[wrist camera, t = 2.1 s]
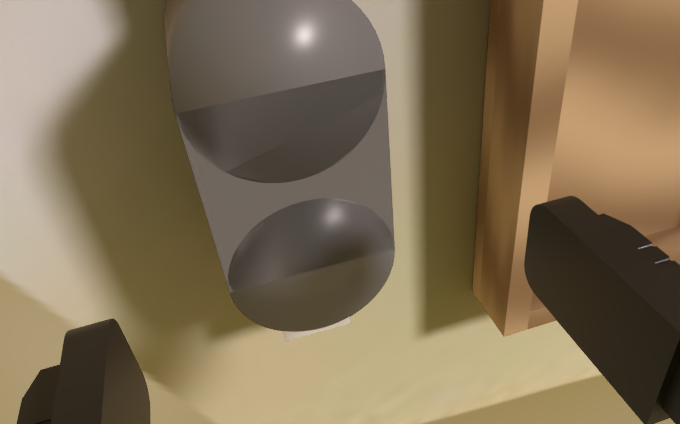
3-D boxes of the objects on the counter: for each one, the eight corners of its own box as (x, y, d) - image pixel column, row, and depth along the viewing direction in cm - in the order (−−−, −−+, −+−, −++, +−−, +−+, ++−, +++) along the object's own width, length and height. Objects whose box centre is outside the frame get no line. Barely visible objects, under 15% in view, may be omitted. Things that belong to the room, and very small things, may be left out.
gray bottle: (104, -172, 12) (88, -168, 8) (307, -198, 12) (370, -203, 9) (240, 293, 20) (260, 393, 16) (357, 261, 21) (400, 350, 17)
